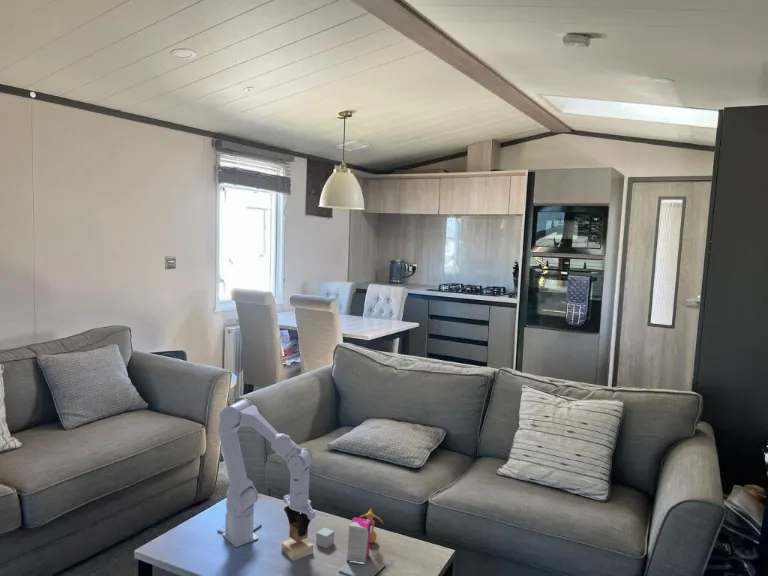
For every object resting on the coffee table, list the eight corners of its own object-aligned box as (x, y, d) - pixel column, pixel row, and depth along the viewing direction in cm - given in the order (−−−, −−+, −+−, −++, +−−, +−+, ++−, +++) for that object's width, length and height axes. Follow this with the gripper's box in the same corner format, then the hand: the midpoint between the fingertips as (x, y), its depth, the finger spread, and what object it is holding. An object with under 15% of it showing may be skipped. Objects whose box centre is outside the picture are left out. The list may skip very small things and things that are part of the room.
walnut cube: (289, 536, 171) (289, 524, 170) (300, 532, 173) (300, 520, 173) (296, 542, 168) (297, 529, 167) (307, 537, 171) (307, 525, 170)
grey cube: (316, 544, 175) (316, 532, 174) (324, 539, 178) (324, 527, 178) (326, 548, 173) (326, 536, 172) (333, 543, 176) (334, 531, 176)
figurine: (383, 540, 179) (385, 504, 178) (381, 550, 173) (382, 513, 172) (358, 537, 180) (360, 502, 179) (355, 547, 174) (356, 510, 173)
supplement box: (365, 565, 164) (367, 528, 164) (346, 562, 166) (347, 525, 165) (370, 554, 170) (371, 519, 169) (351, 551, 171) (352, 516, 170)
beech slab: (281, 551, 171) (281, 542, 170) (301, 544, 175) (301, 535, 175) (293, 562, 165) (293, 552, 165) (312, 554, 170) (313, 544, 170)
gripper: (324, 494, 167) (322, 537, 168) (297, 478, 177) (296, 519, 178) (304, 501, 162) (303, 545, 163) (278, 484, 172) (277, 525, 174)
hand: (298, 532), depth 170 cm, fingers closed on walnut cube, 4 cm apart
